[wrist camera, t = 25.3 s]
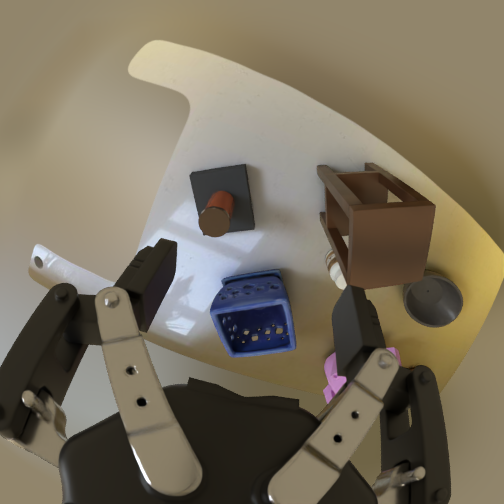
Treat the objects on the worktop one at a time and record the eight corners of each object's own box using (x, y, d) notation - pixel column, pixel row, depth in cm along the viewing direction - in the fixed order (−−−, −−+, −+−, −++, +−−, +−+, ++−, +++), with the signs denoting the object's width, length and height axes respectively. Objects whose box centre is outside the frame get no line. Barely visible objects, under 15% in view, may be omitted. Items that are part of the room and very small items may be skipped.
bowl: (429, 318, 59) (438, 335, 54) (380, 287, 54) (390, 306, 49) (460, 285, 54) (472, 301, 48) (417, 245, 49) (430, 262, 43)
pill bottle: (334, 243, 49) (344, 266, 43) (351, 254, 50) (362, 277, 44) (320, 261, 51) (327, 285, 45) (337, 270, 52) (346, 295, 46)
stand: (316, 165, 42) (353, 210, 25) (373, 162, 41) (436, 205, 24) (319, 220, 47) (349, 292, 30) (372, 216, 46) (422, 281, 29)
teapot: (323, 334, 62) (333, 386, 49) (392, 323, 60) (412, 371, 47) (319, 377, 71) (325, 422, 58) (378, 367, 69) (390, 409, 56)
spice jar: (206, 192, 43) (195, 210, 36) (233, 188, 43) (226, 206, 36) (211, 216, 46) (202, 239, 39) (237, 213, 45) (232, 235, 38)
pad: (192, 172, 44) (189, 175, 42) (245, 163, 43) (244, 166, 41) (205, 230, 49) (203, 235, 47) (254, 224, 48) (254, 229, 46)
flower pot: (294, 309, 58) (298, 351, 47) (234, 318, 60) (229, 360, 49) (284, 257, 51) (288, 298, 41) (216, 269, 53) (205, 310, 43)
